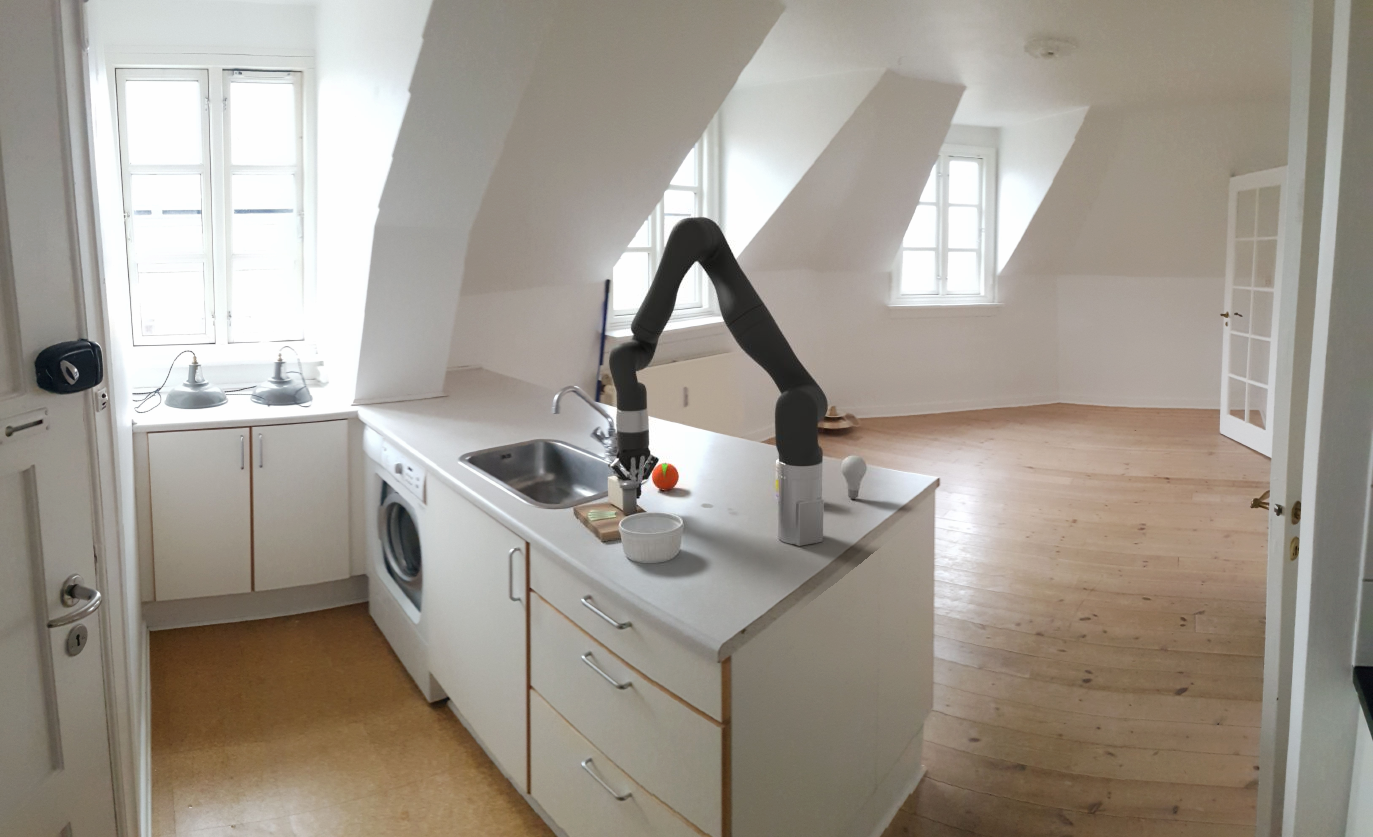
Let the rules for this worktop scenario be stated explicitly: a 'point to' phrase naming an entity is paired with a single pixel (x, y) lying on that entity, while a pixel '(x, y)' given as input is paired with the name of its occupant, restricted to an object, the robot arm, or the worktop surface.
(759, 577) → the worktop surface
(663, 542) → the ramekin
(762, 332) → the robot arm
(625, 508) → the knob
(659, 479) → the clementine
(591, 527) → the board
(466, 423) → the worktop surface
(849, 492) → the lightbulb
